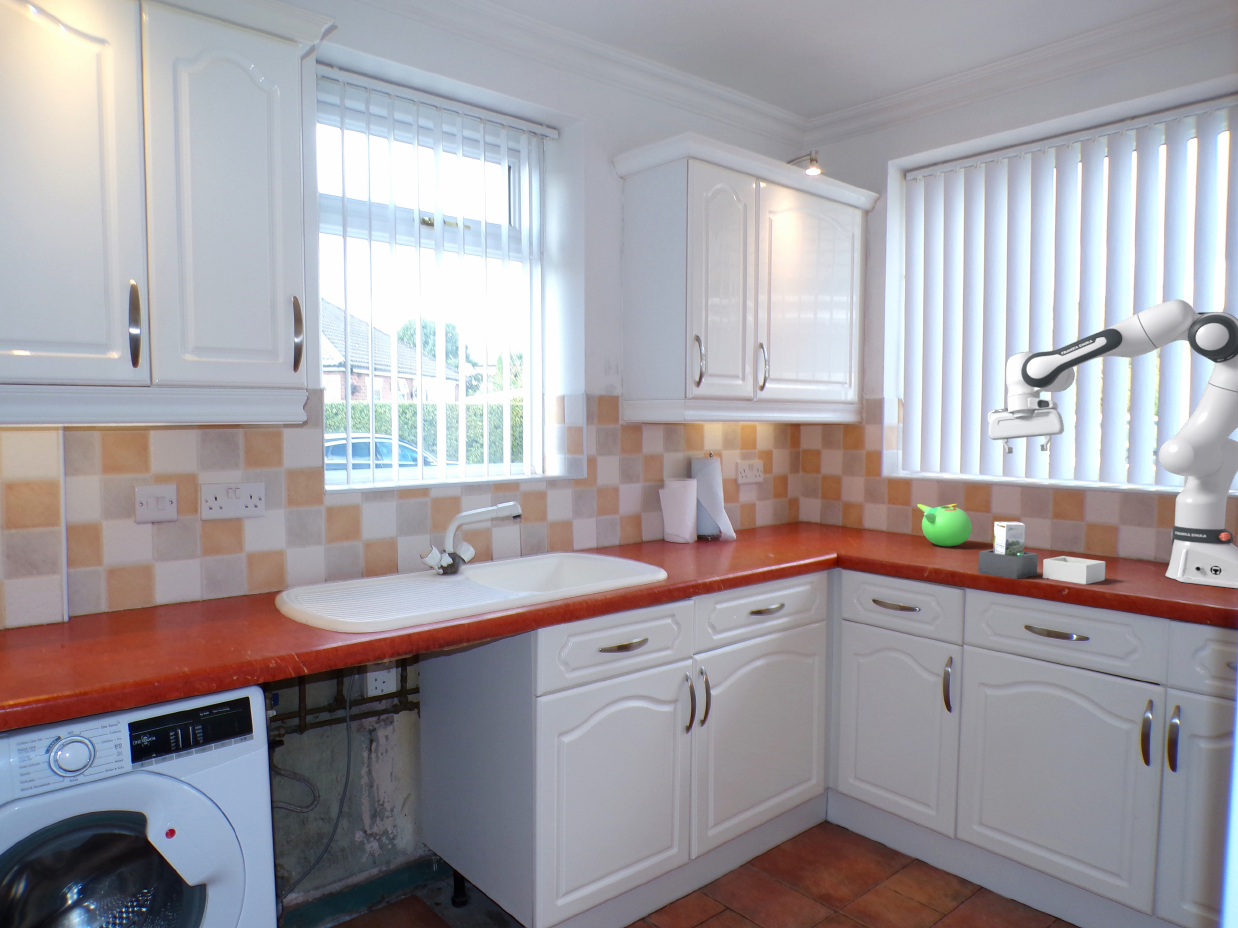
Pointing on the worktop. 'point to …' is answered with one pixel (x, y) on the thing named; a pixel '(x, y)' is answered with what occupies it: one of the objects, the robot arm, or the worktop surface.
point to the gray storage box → (1008, 564)
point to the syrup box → (1009, 538)
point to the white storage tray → (1074, 569)
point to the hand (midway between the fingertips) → (1026, 452)
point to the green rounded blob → (945, 525)
